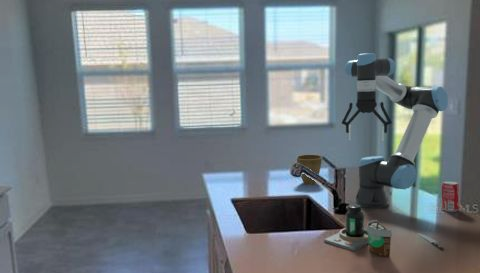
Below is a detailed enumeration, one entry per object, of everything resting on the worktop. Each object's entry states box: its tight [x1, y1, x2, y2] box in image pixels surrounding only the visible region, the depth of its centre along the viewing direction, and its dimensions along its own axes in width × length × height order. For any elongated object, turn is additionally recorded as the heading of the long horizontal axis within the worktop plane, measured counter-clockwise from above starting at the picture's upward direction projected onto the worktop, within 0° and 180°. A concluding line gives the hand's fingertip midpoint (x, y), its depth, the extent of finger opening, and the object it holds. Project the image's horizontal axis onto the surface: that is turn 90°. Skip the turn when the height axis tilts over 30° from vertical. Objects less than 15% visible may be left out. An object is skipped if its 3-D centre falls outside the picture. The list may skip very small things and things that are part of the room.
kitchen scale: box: [323, 227, 369, 252], centre depth 162 cm, size 13×17×2 cm
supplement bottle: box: [345, 203, 365, 238], centre depth 163 cm, size 7×7×12 cm
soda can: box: [441, 180, 460, 213], centre depth 192 cm, size 7×7×13 cm
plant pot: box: [295, 154, 323, 185], centre depth 250 cm, size 15×15×16 cm
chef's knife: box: [416, 232, 445, 251], centre depth 159 cm, size 19×1×3 cm
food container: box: [365, 219, 393, 258], centre depth 149 cm, size 12×6×10 cm, turn 5°
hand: (366, 140), depth 180 cm, fingers open, 13 cm apart
